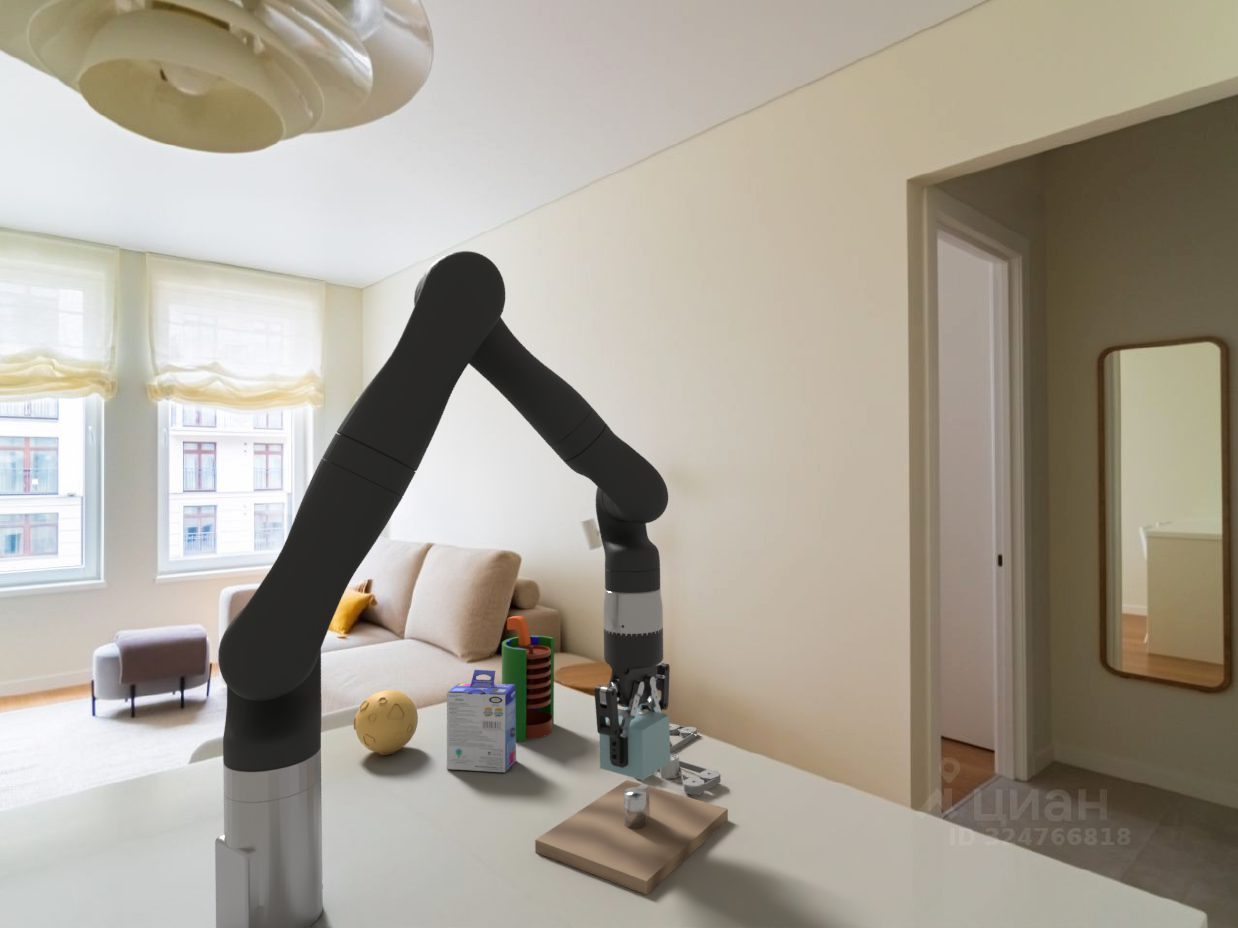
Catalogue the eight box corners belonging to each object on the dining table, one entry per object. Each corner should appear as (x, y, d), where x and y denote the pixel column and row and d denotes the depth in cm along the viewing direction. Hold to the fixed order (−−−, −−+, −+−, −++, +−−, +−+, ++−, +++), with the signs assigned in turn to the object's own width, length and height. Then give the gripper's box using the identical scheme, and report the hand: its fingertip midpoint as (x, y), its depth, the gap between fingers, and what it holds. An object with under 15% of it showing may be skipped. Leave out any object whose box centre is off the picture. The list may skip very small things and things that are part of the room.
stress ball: (391, 743, 126) (343, 713, 123) (429, 699, 127) (382, 668, 124) (390, 776, 117) (338, 744, 114) (431, 728, 117) (381, 695, 114)
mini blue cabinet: (642, 780, 88) (642, 728, 88) (600, 768, 92) (599, 718, 92) (670, 761, 93) (669, 713, 93) (628, 751, 97) (627, 704, 97)
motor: (542, 742, 124) (541, 624, 123) (492, 739, 125) (491, 623, 125) (559, 721, 133) (558, 612, 133) (513, 719, 135) (512, 611, 135)
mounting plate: (646, 894, 80) (646, 881, 80) (535, 851, 89) (535, 839, 89) (727, 819, 96) (727, 808, 96) (627, 790, 105) (626, 779, 105)
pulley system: (620, 809, 102) (727, 798, 103) (618, 775, 102) (724, 764, 103) (610, 741, 129) (694, 733, 130) (608, 715, 129) (692, 707, 130)
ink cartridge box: (518, 759, 117) (517, 669, 117) (507, 774, 111) (506, 679, 111) (459, 756, 118) (458, 666, 118) (445, 770, 113) (444, 676, 113)
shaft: (638, 831, 91) (638, 798, 91) (620, 824, 92) (619, 793, 92) (655, 817, 94) (655, 786, 94) (637, 812, 95) (636, 781, 95)
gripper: (626, 639, 84) (628, 784, 84) (687, 617, 96) (688, 743, 96) (574, 632, 89) (576, 769, 89) (639, 611, 101) (641, 732, 101)
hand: (635, 755), depth 93 cm, fingers closed on mini blue cabinet, 6 cm apart
